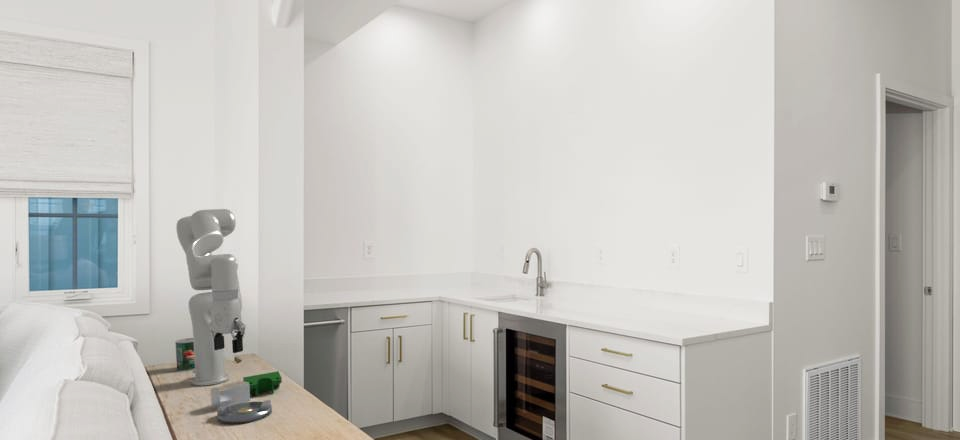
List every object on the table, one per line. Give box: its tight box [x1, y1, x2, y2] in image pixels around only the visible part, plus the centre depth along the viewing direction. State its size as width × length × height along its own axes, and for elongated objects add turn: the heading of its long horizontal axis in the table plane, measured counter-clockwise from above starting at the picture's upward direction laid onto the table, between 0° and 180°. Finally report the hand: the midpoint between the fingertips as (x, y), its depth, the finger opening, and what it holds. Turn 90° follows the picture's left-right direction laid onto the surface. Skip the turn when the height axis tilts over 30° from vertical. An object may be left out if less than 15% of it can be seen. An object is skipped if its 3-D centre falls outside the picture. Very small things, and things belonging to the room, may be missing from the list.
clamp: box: [242, 370, 283, 398], centre depth 201 cm, size 12×6×9 cm, turn 115°
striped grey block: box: [210, 380, 251, 410], centre depth 191 cm, size 5×10×6 cm, turn 144°
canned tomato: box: [175, 337, 195, 372], centre depth 238 cm, size 8×8×11 cm
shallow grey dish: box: [216, 399, 273, 425], centre depth 181 cm, size 15×15×3 cm
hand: (228, 350), depth 190 cm, fingers open, 9 cm apart
